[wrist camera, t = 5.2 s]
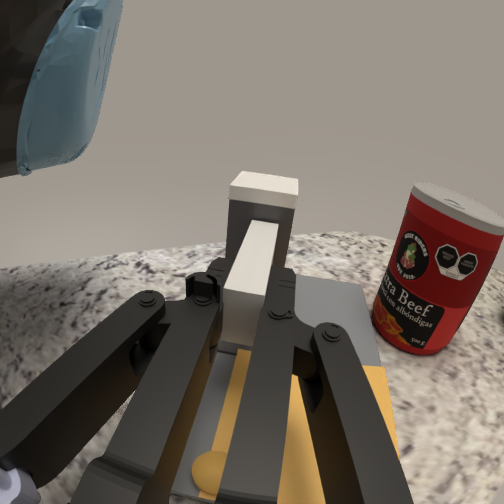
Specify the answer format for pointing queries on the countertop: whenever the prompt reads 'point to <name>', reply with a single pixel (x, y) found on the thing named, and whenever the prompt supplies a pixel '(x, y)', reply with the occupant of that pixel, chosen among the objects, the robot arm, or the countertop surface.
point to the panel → (298, 434)
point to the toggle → (261, 210)
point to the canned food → (435, 268)
